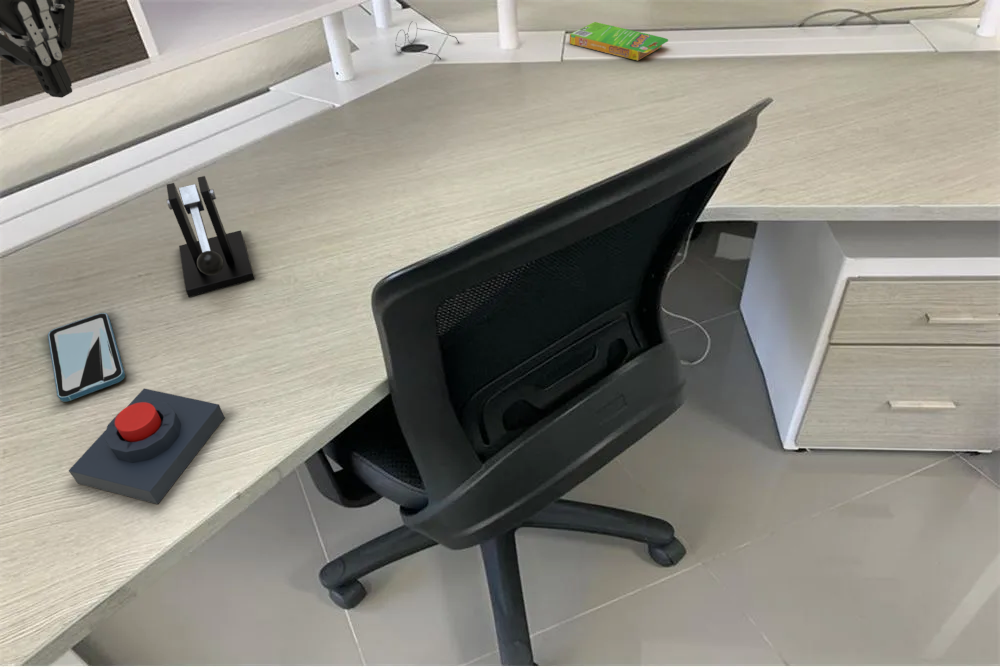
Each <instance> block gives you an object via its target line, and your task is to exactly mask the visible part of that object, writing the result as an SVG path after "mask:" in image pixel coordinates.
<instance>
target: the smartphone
mask: <svg viewBox="0 0 1000 667" xmlns="http://www.w3.org/2000/svg"><path fill="white" fill-rule="evenodd" d="M47 339H48V346H49V353H50V359H51V365H52V370H53V376H54V384H55V390H56V395H57V397H58V400H60V401H61V402H64V403H65V402H67V403H68V402H71V401H73V400H76V399H78V398H81V397H83V396H87V395H89V394H92V393H94V392H98V391H99V390H102V389H105V388H108V387H111V386H113V385H115V384H118V383H120V382H122V381H123V380H124V379H125V378H126V372H125V369H124V365H123V361H122V358H121V354H120V351H119V348H118V343H117V340H116V336H115V332H114V329H113V326H112V322H111V319H110V316H109V315H108V313H106V312H99V313H95V314H93V315H90V316H88V317H84V318H82V319H79V320H75V321H73V322H70V323H67V324H64V325H60V326H58V327H55V328H53V329H51V330H50V331H49V332H48V334H47Z"/></svg>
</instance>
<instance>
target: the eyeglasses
mask: <svg viewBox="0 0 1000 667" xmlns="http://www.w3.org/2000/svg"><path fill="white" fill-rule="evenodd" d="M411 24H412V22H410V23H409V25H408V29H407V31H410V30H409V29H410V26H411ZM415 24H416V26H418V24H417V23H415ZM416 30H420V28H419V27H416ZM423 30H424V31H427V29H426V28H421V31H423ZM401 31H403V33H404V38H405V39H404V42H406V40H407V41H408V43H409V44H411V45H412V44H413V42H415V41H416V39H417V35H418V32H416V34H415V38H414V40H413V42H410V40H409V38H410V35H407V33H406V32H405V30H404V29H400V30H399V31H398V32H397V34H396V37H395V40H397V39H398V35H399V33H400V32H401ZM428 31H429V32H435V33H438V34H441V35H446V36H449V37H453V38H455V39H456V42H457V43H458V44H460V41H459V40H458V38H457V36H455V35H452V34H447V33H443V32H439V31H436V30H431V29H428ZM406 35H407V36H406ZM394 45H395V47H397V48H401V49H402V50H401V51H400V52H399V51H398V49H397V48H395V51H396V53H398V54H401V53H402V52H403V51H404V50H408V51H411V52H415V50H413V49H408V48H406V47H405V46H406V44H404V46H400V45H397V44H394ZM416 52H418V53H421V51H419V50H416ZM422 53H424V54H428V55H434V56H436V57H437V58H438V59H439V60H440V61H441V60H442V58H441V57H440V56H439V55H438V54H437V53H433V52H432V53H431V52H425V51H422Z"/></svg>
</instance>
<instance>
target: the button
mask: <svg viewBox="0 0 1000 667" xmlns="http://www.w3.org/2000/svg"><path fill="white" fill-rule="evenodd" d="M127 406H128V405H127ZM127 406H125V407H124V408H123V409H122V410H121V411H120V413H119V412H118V413H119V414H118V413H117V414H118V415H117V414H116V416H117V417H116V416H115V417H116V419H115V426H116V428H117V430H118V431H119V433H120V434H121V436H122V438H123V439H124V440H126V441H129V442H136V441H141V440H144V439H146V438H148V437H150V436H151V435H153V434H155V433H156V432H157V430H158V429H159V428H160V426H161V418H160V416H159V415H158V413H157V411H156V409H155V407H154V406H153V405H152V404H150V403H146V402H140V403H135V404H132V405H130V406H128V407H127Z"/></svg>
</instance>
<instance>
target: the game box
mask: <svg viewBox="0 0 1000 667" xmlns="http://www.w3.org/2000/svg"><path fill="white" fill-rule="evenodd" d="M668 42H669V39H668V38H666V37H663V36H657V35H653V34H649V33H646V32H641V31H637V30H632V29H628V28H623V27H620V26H615V25H610V24H606V23H601V22H597V21H593V22H591V23H589V24H586V26H583V27H581V28H579V29H577V30H575V31H573V32H571V33H569V44H570V45H573V46H578V47H581V48H584V49H585V48H586V49H589V50H593V51H597V52H601V53H605V54H610V55H614V56H617V57H622V58H624V59H630V60H633V61H637V62H639V61H640V60H641V59H644V58H645V57H647V56H648V55H650V54H652V53H654V52H656V51H657V50H659V49H661V48H662V47H663V45H664V44H666V43H668Z"/></svg>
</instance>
